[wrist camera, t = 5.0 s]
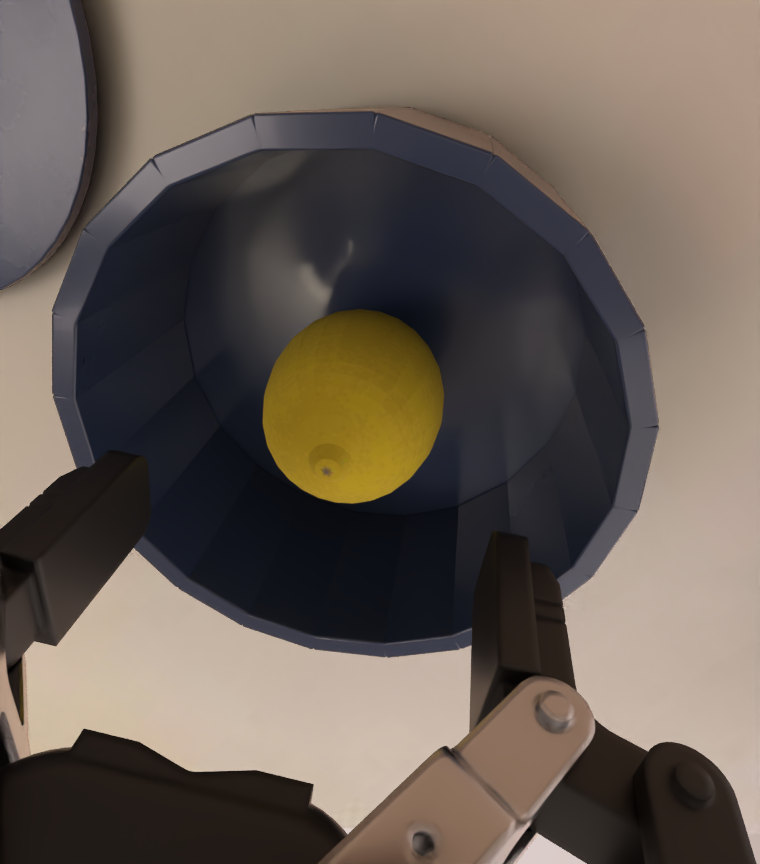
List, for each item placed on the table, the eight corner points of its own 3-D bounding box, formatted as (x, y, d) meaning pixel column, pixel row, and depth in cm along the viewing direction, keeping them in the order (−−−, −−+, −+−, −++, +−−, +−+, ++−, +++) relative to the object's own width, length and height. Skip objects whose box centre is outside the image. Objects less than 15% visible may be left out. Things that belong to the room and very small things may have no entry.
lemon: (278, 313, 22) (183, 413, 15) (416, 257, 20) (382, 340, 13) (341, 435, 24) (285, 571, 17) (470, 395, 22) (466, 528, 15)
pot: (90, 298, 23) (-58, 373, 17) (431, -25, 16) (399, -103, 10) (345, 571, 28) (306, 708, 22) (681, 409, 21) (765, 536, 15)
